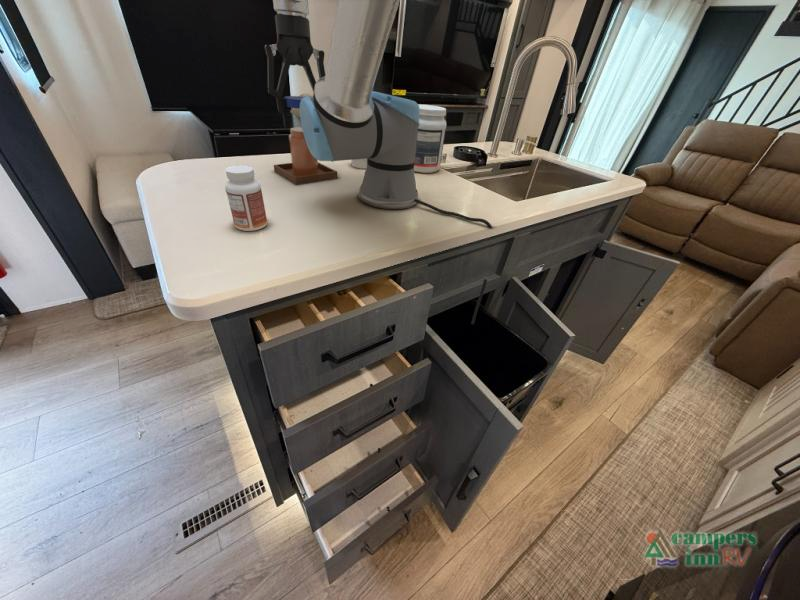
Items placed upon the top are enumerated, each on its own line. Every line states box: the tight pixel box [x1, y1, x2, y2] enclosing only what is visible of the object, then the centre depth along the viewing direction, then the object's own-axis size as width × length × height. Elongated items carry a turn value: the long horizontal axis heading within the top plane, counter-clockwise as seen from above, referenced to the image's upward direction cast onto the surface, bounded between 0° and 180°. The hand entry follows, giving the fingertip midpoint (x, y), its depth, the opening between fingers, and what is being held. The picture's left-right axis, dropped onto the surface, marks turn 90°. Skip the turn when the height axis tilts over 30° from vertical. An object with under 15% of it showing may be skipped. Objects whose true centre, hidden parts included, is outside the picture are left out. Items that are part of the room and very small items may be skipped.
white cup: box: [350, 159, 367, 170], centre depth 104 cm, size 8×8×10 cm
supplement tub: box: [414, 103, 447, 174], centre depth 105 cm, size 13×13×18 cm
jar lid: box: [283, 95, 305, 110], centre depth 83 cm, size 8×8×2 cm
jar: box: [288, 126, 319, 176], centre depth 91 cm, size 7×7×12 cm
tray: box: [273, 161, 339, 186], centre depth 94 cm, size 13×13×2 cm
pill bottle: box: [224, 165, 268, 232], centre depth 62 cm, size 6×6×11 cm
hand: (302, 127), depth 87 cm, fingers closed on jar lid, 7 cm apart
